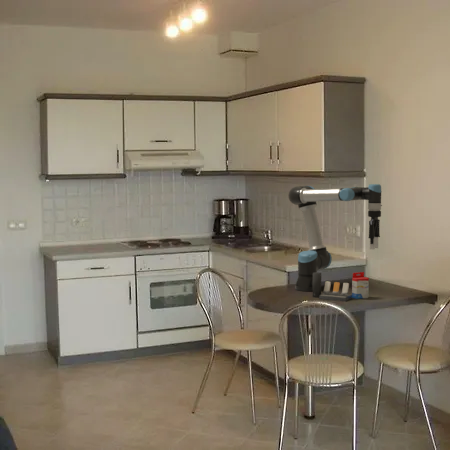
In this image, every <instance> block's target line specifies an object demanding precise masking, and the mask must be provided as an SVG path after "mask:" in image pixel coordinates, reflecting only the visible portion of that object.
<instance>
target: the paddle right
mask: <svg viewBox="0 0 450 450" xmlns="http://www.w3.org/2000/svg"><path fill="white" fill-rule="evenodd" d="M349 287H350V283H348V282H343V284H342V290H341V294H342V295H348V294H349V289H350V288H349Z"/></svg>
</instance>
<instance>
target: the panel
mask: <svg viewBox="0 0 450 450" xmlns="http://www.w3.org/2000/svg"><path fill="white" fill-rule="evenodd" d="M318 299H319V300H326V301H336V300H340V301H339V302H348V301H349V300H351V299H353V298H352V294H351V293H350V294H349V293H348V295H342V293H339V294H333V292H330V293H324V292H322V293H321V295H319V298H318Z"/></svg>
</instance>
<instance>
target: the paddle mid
mask: <svg viewBox="0 0 450 450" xmlns="http://www.w3.org/2000/svg"><path fill="white" fill-rule="evenodd" d="M340 286H341V283H340V282H339V281H338V282H337V281H335V282H334V281H333V289H332V293H333V294H340Z"/></svg>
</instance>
